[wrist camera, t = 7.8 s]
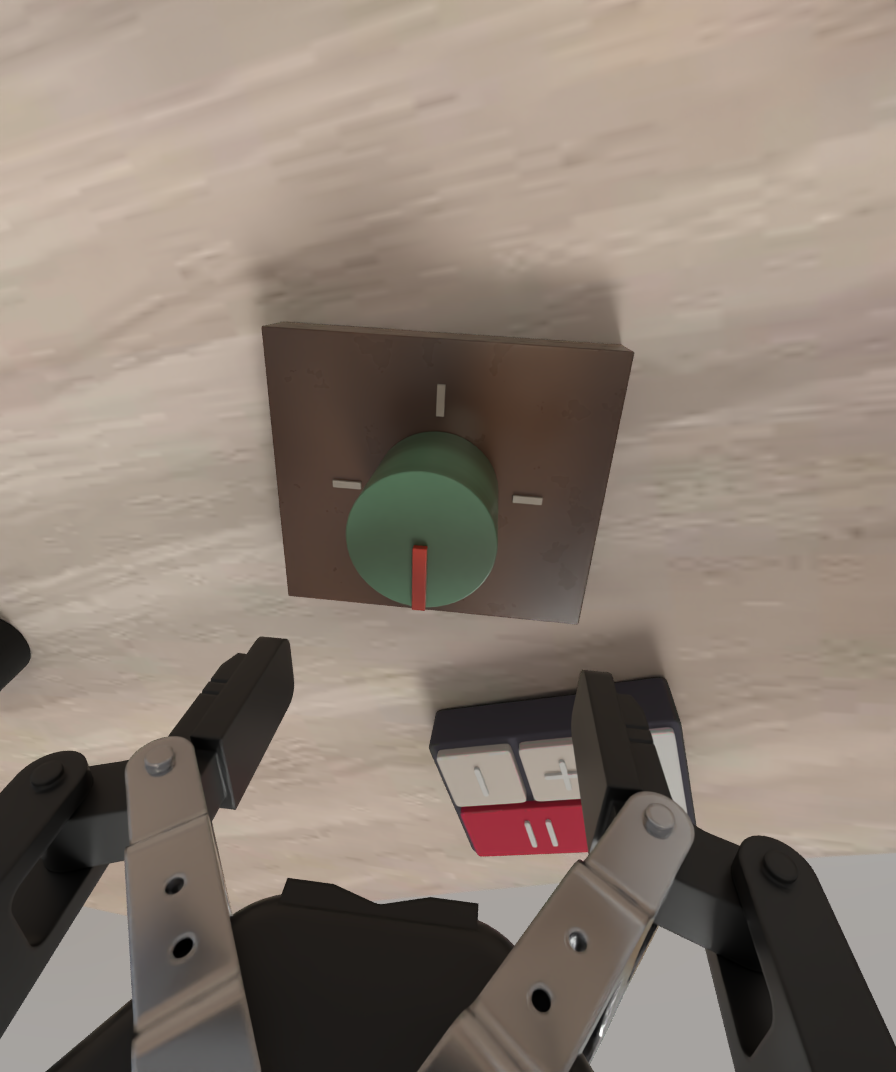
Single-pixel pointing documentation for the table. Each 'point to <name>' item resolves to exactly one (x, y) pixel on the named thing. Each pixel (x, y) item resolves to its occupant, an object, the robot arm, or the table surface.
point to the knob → (426, 521)
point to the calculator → (538, 769)
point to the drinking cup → (11, 653)
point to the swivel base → (457, 408)
